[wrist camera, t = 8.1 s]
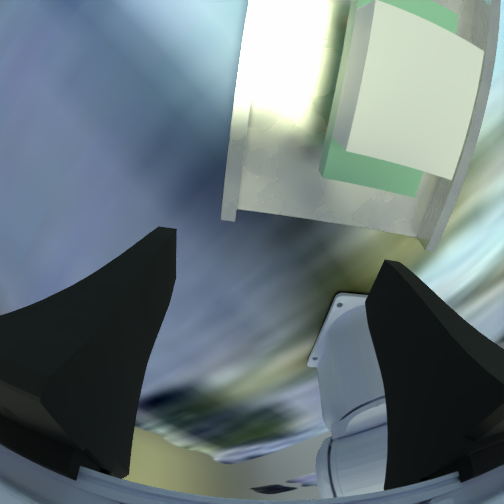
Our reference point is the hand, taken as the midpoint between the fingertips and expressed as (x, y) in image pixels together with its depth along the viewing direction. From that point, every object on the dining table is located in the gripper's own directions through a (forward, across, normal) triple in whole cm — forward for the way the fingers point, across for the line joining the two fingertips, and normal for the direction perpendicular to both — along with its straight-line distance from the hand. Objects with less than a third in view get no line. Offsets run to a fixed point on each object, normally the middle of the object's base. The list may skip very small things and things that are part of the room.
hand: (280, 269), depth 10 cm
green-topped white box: (+6, -4, -7) cm, 10 cm away
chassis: (+9, -4, -7) cm, 12 cm away
